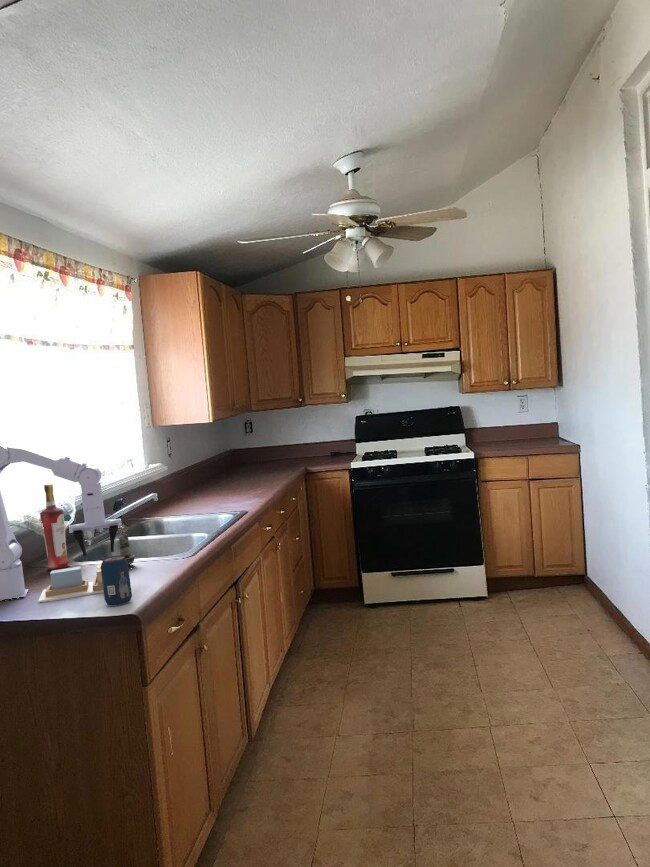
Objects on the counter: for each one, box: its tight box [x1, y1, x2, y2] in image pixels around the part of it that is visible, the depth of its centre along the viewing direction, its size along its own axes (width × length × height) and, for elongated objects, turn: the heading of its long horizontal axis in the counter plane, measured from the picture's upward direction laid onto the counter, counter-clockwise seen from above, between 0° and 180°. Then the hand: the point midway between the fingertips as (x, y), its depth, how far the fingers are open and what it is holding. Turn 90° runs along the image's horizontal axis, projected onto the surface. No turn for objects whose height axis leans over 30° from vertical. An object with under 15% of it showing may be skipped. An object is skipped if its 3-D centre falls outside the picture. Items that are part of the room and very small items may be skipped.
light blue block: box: [49, 565, 84, 590], centre depth 203 cm, size 8×4×6 cm, turn 106°
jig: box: [37, 575, 104, 604], centre depth 204 cm, size 21×13×2 cm, turn 105°
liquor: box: [39, 483, 70, 571], centre depth 235 cm, size 7×7×28 cm
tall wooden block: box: [95, 564, 103, 585], centre depth 205 cm, size 9×4×5 cm, turn 16°
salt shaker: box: [118, 530, 136, 570], centre depth 226 cm, size 6×6×12 cm
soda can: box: [100, 554, 133, 607], centre depth 187 cm, size 7×7×12 cm
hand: (98, 553), depth 208 cm, fingers open, 7 cm apart
